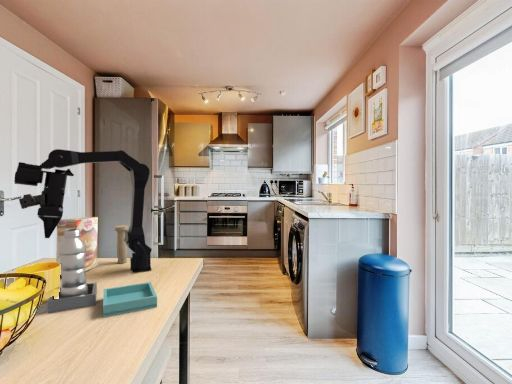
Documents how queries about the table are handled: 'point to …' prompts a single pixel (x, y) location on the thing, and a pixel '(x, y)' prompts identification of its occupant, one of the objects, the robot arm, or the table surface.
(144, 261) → the robot arm
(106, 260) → the table surface
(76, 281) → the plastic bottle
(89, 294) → the open frame
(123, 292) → the tray
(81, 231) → the coffeecake box
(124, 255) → the beige column
